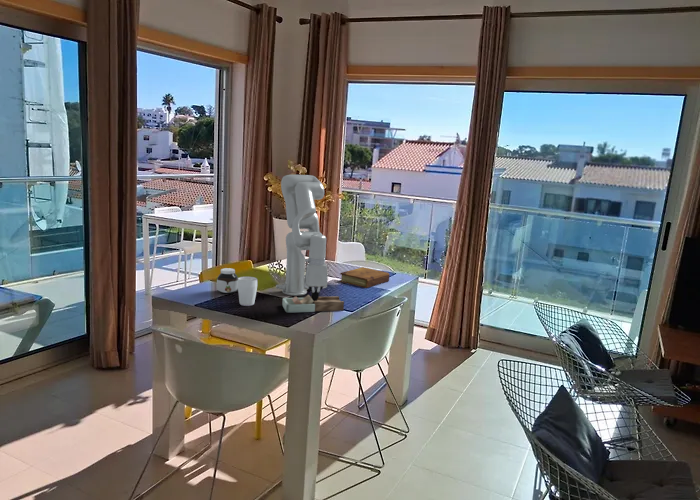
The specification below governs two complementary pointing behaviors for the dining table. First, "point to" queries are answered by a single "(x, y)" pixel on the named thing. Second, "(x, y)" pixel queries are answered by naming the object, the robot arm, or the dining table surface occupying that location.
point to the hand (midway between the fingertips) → (314, 300)
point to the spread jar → (227, 281)
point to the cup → (247, 290)
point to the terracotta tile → (296, 300)
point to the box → (297, 306)
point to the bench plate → (328, 304)
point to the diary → (364, 277)
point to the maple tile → (307, 300)
